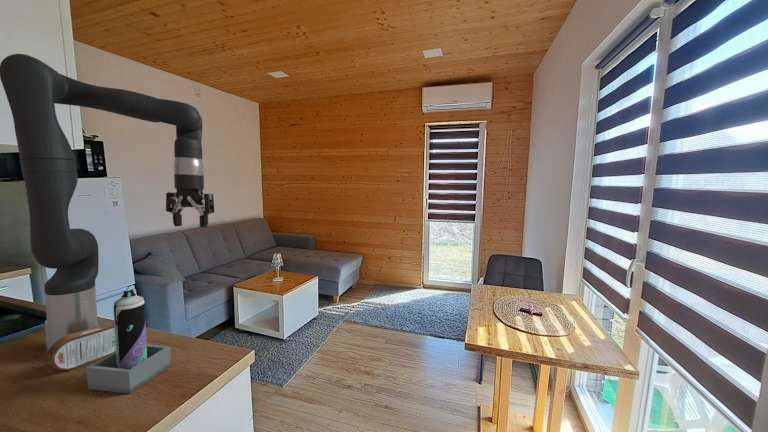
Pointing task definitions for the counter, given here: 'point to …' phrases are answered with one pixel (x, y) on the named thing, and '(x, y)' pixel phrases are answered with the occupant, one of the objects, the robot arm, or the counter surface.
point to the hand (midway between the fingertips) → (190, 226)
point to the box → (128, 371)
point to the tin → (82, 347)
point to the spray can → (130, 330)
